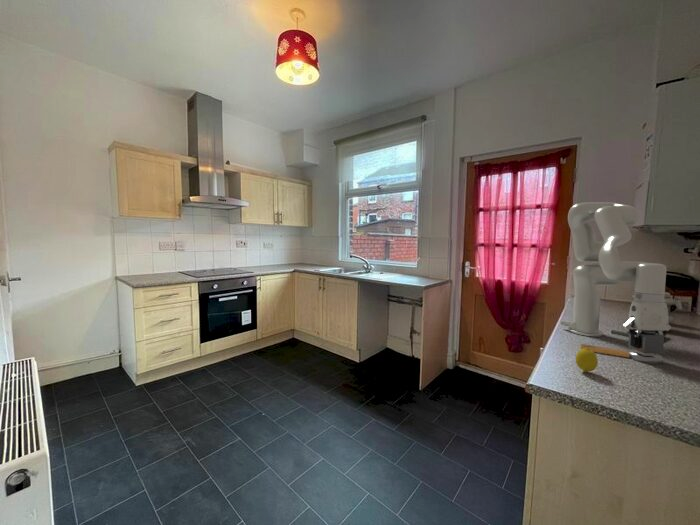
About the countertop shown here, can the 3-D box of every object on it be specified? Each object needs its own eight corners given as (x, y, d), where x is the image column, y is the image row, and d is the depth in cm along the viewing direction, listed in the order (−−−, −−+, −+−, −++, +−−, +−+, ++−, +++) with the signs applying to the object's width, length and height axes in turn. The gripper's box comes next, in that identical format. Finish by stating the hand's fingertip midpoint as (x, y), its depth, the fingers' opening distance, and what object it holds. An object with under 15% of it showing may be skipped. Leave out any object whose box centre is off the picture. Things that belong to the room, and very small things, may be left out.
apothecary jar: (641, 330, 140) (644, 292, 139) (633, 323, 151) (636, 289, 149) (677, 334, 134) (680, 295, 133) (667, 327, 144) (670, 291, 143)
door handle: (606, 331, 132) (656, 339, 118) (622, 324, 143) (670, 331, 129) (606, 338, 132) (656, 347, 119) (622, 331, 143) (670, 338, 129)
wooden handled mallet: (582, 352, 112) (582, 340, 112) (579, 345, 120) (580, 334, 119) (665, 366, 100) (667, 352, 99) (657, 357, 107) (658, 344, 107)
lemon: (598, 377, 92) (599, 352, 91) (575, 373, 95) (577, 349, 94) (595, 371, 96) (596, 347, 96) (574, 367, 99) (575, 344, 99)
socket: (644, 353, 103) (645, 332, 102) (628, 346, 109) (629, 327, 108) (662, 353, 102) (664, 332, 102) (645, 347, 108) (647, 327, 108)
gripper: (632, 299, 101) (629, 350, 102) (685, 300, 100) (681, 351, 101) (614, 295, 108) (611, 343, 110) (663, 296, 108) (659, 344, 109)
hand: (645, 346), depth 106 cm, fingers closed on socket, 6 cm apart
